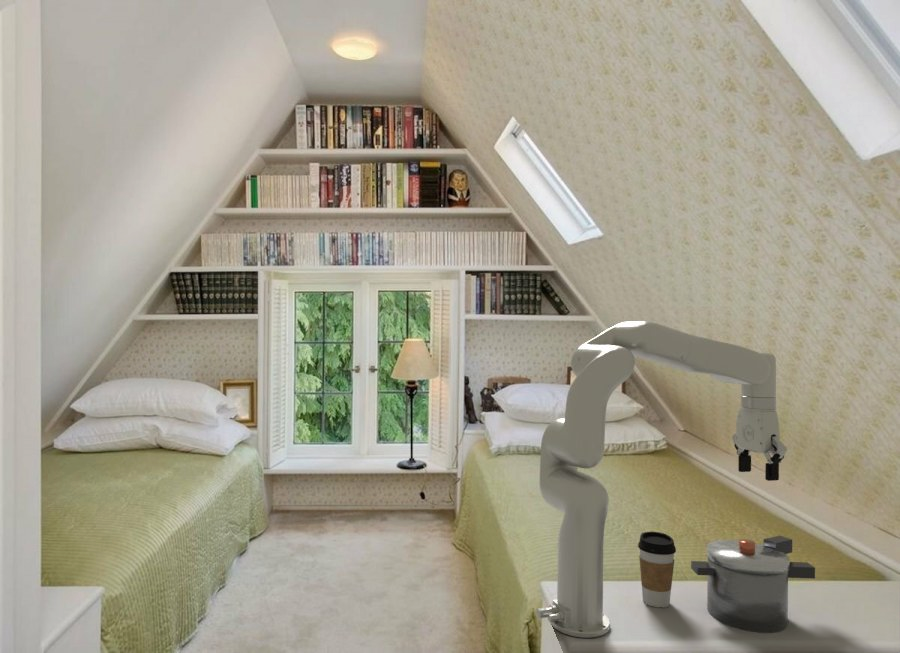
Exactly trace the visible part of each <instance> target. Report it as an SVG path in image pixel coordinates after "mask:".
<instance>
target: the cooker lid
mask: <svg viewBox="0 0 900 653" xmlns="http://www.w3.org/2000/svg"><path fill="white" fill-rule="evenodd" d="M705 547H706V549H705V550H706V551H705V553H706V557H707V559H708V558H709V559H710V560H712V561H713V562H715V563H717V564H719V565H721V566H724V567H727V568H730V569H734V570H737V571H742V572H747V573H754V574H780V573H784V572H786V571H788V570H789V568H790V562H791V561H790V560H791V558H790V557H789V555H788V554H793V539H792V538H789V537H785V536H782V535H777V536H772V537H771V536H770V537H768V538H763V544H761V543H757V542H755V541H754V540H750V539H747V538H742V539H741V538H740V539H739V540H737V539H720V540H714V541H711V542H710V541H709V543H707V544H706V546H705Z"/></svg>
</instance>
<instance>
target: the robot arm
mask: <svg viewBox="0 0 900 653" xmlns="http://www.w3.org/2000/svg"><path fill="white" fill-rule="evenodd" d="M635 359H642V360H646V361H650V362H652V363H656V364H661V365H663V366H666V367H667V366H668V367H670V368H673V369H675V370H678V371H682V372H688V373H695V374H706V375H710V376H711V378H713V379H714V380H715V381H717V382H720V383H725V384H737V385H738V384H739V385H740V390H741V391H740V407H738V412H737V416H736V425H735V434H733V435H732V436H731V438H732V441H733V443H734V445H733V446H734V447H735V449H736V454H737V456H738V460H737V461H738V463H737V464H738V465H737V466H738V472H739V473H750V472H752V455H750V454H751V452H753V453H757V454H764V455H763V456H764V457H765V459H766V461H767V462H766V463H765V469H764V470H765V480H766V481H767V482H770V481H779V480H780V464H781V463H782V460H784V458H785V454H786V453H787V451H788V447H787V446H786V445H785V444H784V442H782V441H781V436H780V435H781V434H780V423H779V416H778V412H777V404H776V403H777V359H776V356H775V355H774V354H772V353H768V352H767V353H765V352H757V351H755V350H752V349H750V348H747V347H743V346H740V345H735V344H732V343H726V342H724V341H718V340H715V339H711V338H707V337H703V336H699V335H693V334H690V333H687V332H684V331H680V330H679V329H675V328H672V327H669V326H665V325H663V324H661V323H657V322H653V321H647V320H642V321H641V320H639V321H623V322H620V323H617V324H615V325H614V326H612V327H610V328H607V329H606V330H604V331H602V332H601V333H600V334H598V335H596V336H595V337H594V338H591V339H590V340H588V341H586V342H585V343H583V344H581V345H580V346H579V347H578V348H577V349H575V351H574V352H573V354H572V356H571V360H570V361H571V362H570V366H571V370H572V372H573V374H574V375H575V376H576V377H575V378H574V380H573V382H572V383H571V385H570V387H569V390H568V392H567V396H566V401H565V411H564V418H557V419H555V420H552V421H551V422H550V423H549V424H548V425H547V427H546V428H545V430H544V432H543V434H542V438H541V443H540V458H539V459H540V460H539V461H540V462H539V463H540V464H539V489H540V490H539V492H540V494H541V497H542V499H543V500H544V502H545V503H547V505H548V506H550V507H552V508H553V509H555V510H557V511H559V512H561V513H562V514H563V519H562V522H561V524H560V527H559V530H558V537H557V586H556V587H557V588H556V589H557V591H556V593H557V597H556V599H553V600H552V604H550V605H549V606H548V607H541V608H539V607H538V608H536V610H535V611H536V612H535V614H536V618H538V619H539V620H541V619H546V618H547V620H548V622H550V625H551V626H552V627H553V628H554V629H555V630H557V631H558V632H560V633H563V634H565V635H568V636H571V637H575V638H583V639H584V638H585V639H586V638H591V639H592V638H598V637H602V636H603V635H606V634H607V633H608V632H609V631H610V629H611V621H610V619H609V617H608V616H607V615H606V614H604V612H603V611H604V606H603V605H604V540H605V539H604V538H605V527H606V520H607V516H608V511H609V506H610V503H609V500H610V499H609V493H608V492H607V489H606V488H605V486H604V485H603V484H602V483H601V481H599V480H598V479H596V478H595V477H593V476H592V475H589V474H586V473H584V472H581V471H578V468H580V469H586V470H589V469H593V468H596V467H597V466H599V465H600V463H601V462H602V460H603V458H604V453H605V438H606V436H605V435H606V417H607V416H606V415H607V407H608V402H609V400H610V398H611V396H612V395H613V393H614V391H615V390H616V389H617V388H618V387H619V386H621V385H622V384H623V383H625V382H626V381H627V380H628V379H629V378H630V377H631V376H632V374H633V372H634V369H635V365H636V363H635V362H636V360H635Z"/></svg>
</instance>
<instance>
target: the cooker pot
mask: <svg viewBox="0 0 900 653" xmlns="http://www.w3.org/2000/svg"><path fill="white" fill-rule="evenodd" d="M690 568H691V570H692V571H693V572H694V573H695V574H696V575H697V576H707V579H706V580H707V581H706V583H707V588H706V589H707V590H706V591H707V596H706V597H707V598H706V599H707V600H706V608H707V611H708V612H707V613H709V615H710V616H712V617H713V618H714V619H715V618H716V620H717V619H718V620H717V621H719V622H721V623H722V622H723V623H722V624H725V625H727V626H730V627H733V628H735V629H740V630H744V631H748V632H753V633H764V634H765V633H767V634H768V633H778V632H782V631H783V630H785V629H786V628H788V626H789V624H788V623H789V622H788V621H789V619H788V618H789V617H788V616H789V610H788V608H789V579H816V567H815V566H813V565H812V564H811V563H809V562H807V561H806V562H805V561H804V562H803V561H790V568H789V570H788V571H786V572H784V573H780V574H754V573H747V572H742V571H737V570H734V569H730V568H727V567H724V566H721V565H719V564H717V563H715V562H713V561H712V560H710V559H709V558H708V557H707V561H703V560H701V561H700V560H698V561H697V560H690Z"/></svg>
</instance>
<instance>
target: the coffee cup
mask: <svg viewBox="0 0 900 653" xmlns="http://www.w3.org/2000/svg"><path fill="white" fill-rule="evenodd" d="M637 548H638V549H639V556H638V557H639V566H640V568H639V570H640V579H641V580H640V581H641V594H642V601H643V603H644V602H645V603H644V604H646V605H647V604H648V606H650V605H651V606H650V607H653V606H654V608H659V607H663V608H667V607H669V606H670V603H671V596H672V594H671V593H672V584H673V576H674V575H673V574H674V566H675V559H674V557H675V554H676V552H677V547H676V546H675V540H674V539H673V537H671V536H670V535H668V534H666V533H664V532H660V531H644V532H642V533H640V537H639V541H638V544H637Z"/></svg>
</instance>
